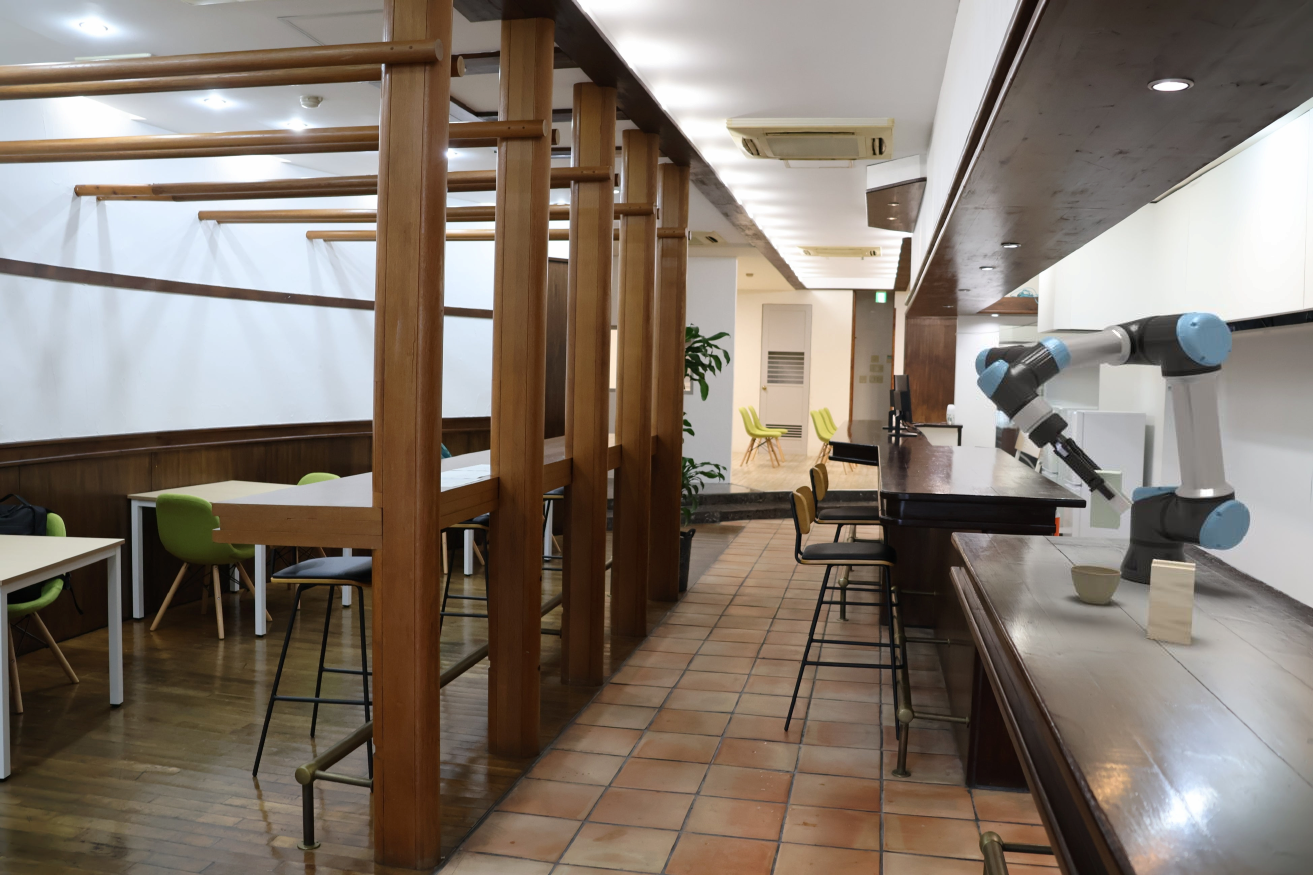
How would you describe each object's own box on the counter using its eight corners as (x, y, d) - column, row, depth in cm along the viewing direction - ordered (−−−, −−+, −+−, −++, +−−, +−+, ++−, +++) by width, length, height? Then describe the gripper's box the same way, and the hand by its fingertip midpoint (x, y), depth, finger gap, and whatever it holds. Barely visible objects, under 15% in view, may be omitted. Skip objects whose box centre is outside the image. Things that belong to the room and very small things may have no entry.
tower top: (1151, 594, 172) (1153, 559, 171) (1193, 599, 168) (1195, 563, 168) (1149, 602, 166) (1151, 565, 165) (1192, 607, 162) (1195, 570, 162)
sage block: (1092, 523, 181) (1094, 469, 180) (1120, 525, 178) (1122, 471, 178) (1089, 526, 177) (1091, 472, 176) (1117, 529, 174) (1120, 473, 173)
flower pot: (1126, 608, 188) (1128, 575, 188) (1075, 605, 190) (1077, 572, 190) (1111, 597, 198) (1113, 566, 197) (1064, 594, 200) (1065, 563, 199)
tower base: (1149, 629, 172) (1151, 594, 172) (1191, 636, 169) (1193, 599, 168) (1147, 638, 166) (1149, 602, 166) (1190, 645, 163) (1192, 607, 162)
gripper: (1033, 433, 192) (1115, 515, 184) (1018, 438, 177) (1107, 527, 169) (1061, 409, 189) (1145, 491, 181) (1048, 412, 174) (1139, 502, 166)
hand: (1126, 508), depth 175 cm, fingers closed on sage block, 5 cm apart
